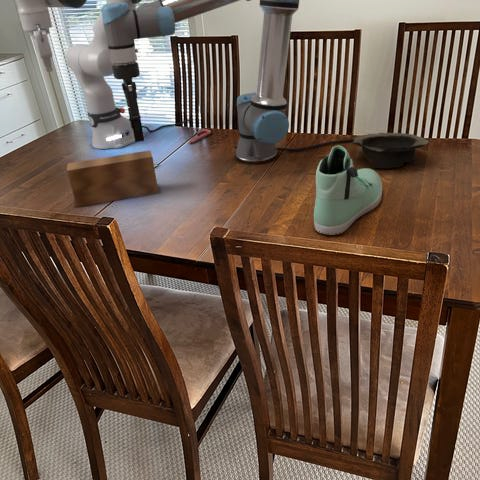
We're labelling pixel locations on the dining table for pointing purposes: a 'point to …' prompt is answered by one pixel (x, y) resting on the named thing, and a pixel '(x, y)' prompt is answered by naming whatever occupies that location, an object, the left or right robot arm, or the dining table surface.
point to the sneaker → (343, 192)
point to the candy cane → (200, 135)
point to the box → (112, 178)
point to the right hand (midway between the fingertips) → (137, 134)
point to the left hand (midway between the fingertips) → (48, 68)
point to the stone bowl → (389, 148)
